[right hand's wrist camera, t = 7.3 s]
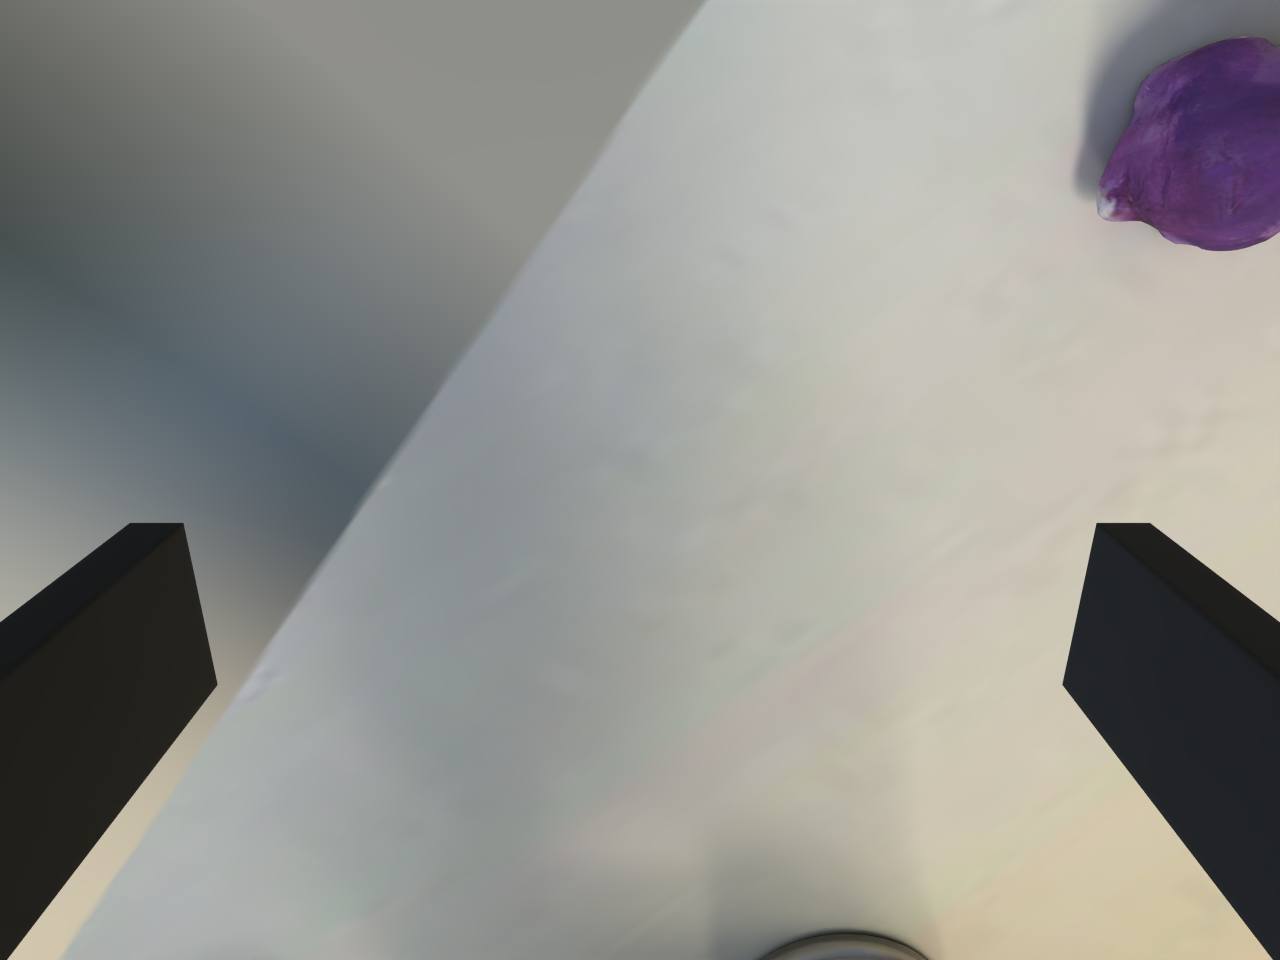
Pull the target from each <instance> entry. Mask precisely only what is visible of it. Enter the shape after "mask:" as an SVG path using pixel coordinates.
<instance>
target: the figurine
mask: <svg viewBox="0 0 1280 960" xmlns="http://www.w3.org/2000/svg"><path fill="white" fill-rule="evenodd" d="M1097 210H1098V214H1099V216H1100V217H1101V218H1102V219H1104V220H1107V221H1119V222H1122V221H1142V222H1144V223H1147V224H1149V225H1151V226H1153V227H1155V228H1156V229H1158V230H1159V232H1160V233H1161V235H1162V236H1163V237H1164V238H1166V239H1168V240H1170V241H1171V242H1173V243H1175V244H1188V245H1193V246H1197V247H1199V248H1201V249H1205V250H1211V251H1232V250H1239V249H1243V248H1247V247H1250V246H1253V245H1255V244H1258V243H1261V242H1264V241H1266V240H1268V239H1270V238H1271V237H1273V236H1274V235H1276V234H1277V233H1279V232H1280V46H1276V47H1274V46H1273V45H1272V44H1271V43H1269V42H1268V41H1267V40H1266V39H1263V38H1253V37H1249V36H1240V37H1236V38H1232V39H1227V40H1223V41H1220V42H1217V43H1214V44H1210V45H1207V46H1205V47H1203V48H1200V49H1197V50H1194V51H1191V52H1188V53H1185V54H1184V55H1181V56H1178V57H1176V58H1173V59H1171V60H1169V61H1168V62H1166V63H1164V64H1162V65H1160V66H1158V67H1157V68H1155V69H1154V70H1153V71H1152V72H1151V73H1150V74H1149V75H1148V76H1147V77H1146V79H1145V80H1144V81H1143V82H1142V84H1141V86H1140V88H1139V91H1138V93H1137V96H1136V99H1135V102H1134V113H1133V116H1132V118H1131V121H1130V123H1129V126H1128V128H1127V129H1126V130H1125V132H1124V133H1123V135H1122V136H1121V138H1120V139H1119V141H1118V142H1117V144H1116V147H1115V149H1114V151H1113V153H1112V156H1111V158H1110V160H1109V162H1108V164H1107V166H1106V168H1105V171H1104V173H1103V175H1102V177H1101V179H1100V182H1099V185H1098V191H1097Z"/></svg>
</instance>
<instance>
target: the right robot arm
mask: <svg viewBox="0 0 1280 960" xmlns="http://www.w3.org/2000/svg"><path fill="white" fill-rule="evenodd" d="M216 686H217V680H216V675H215V670H214V666H213V661H212V656H211V651H210V647H209V642H208V637H207V633H206V628H205V623H204V618H203V614H202V609H201V604H200V599H199V595H198V590H197V585H196V581H195V576H194V571H193V566H192V562H191V557H190V552H189V547H188V543H187V538H186V533H185V529H184V524H183V523H129V524H128V525H127V526H126V527H124V528H123V529H122V530H120V531H119V532H118V533H116V534H115V535H114V536H112V537H111V538H110V539H109V540H107V541H106V542H105V543H103V544H102V545H101V546H99V547H98V548H97V549H95V550H94V551H93V552H92V553H90V554H89V555H88V556H86V557H85V558H84V559H82V560H81V561H80V562H78V563H77V564H76V565H75V566H73V567H72V568H71V569H69V570H68V571H67V572H65V573H64V574H63V575H62V576H60V577H59V578H58V579H56V580H55V581H54V582H52V583H51V584H50V585H48V586H47V587H46V588H44V589H43V590H42V591H41V592H39V593H38V594H37V595H35V596H34V597H33V598H31V599H30V600H29V601H27V602H26V603H25V604H24V605H22V606H21V607H20V608H18V609H17V610H16V611H14V612H13V613H12V614H10V615H9V616H8V617H7V618H5V619H4V620H3V621H1V622H0V960H7V959H8V958H9V956H10V955H11V954H12V953H13V951H14V950H15V949H16V947H17V946H18V945H19V943H20V942H21V941H22V939H23V938H24V937H25V936H26V934H27V933H28V932H29V930H30V929H31V928H32V926H33V925H34V924H35V923H36V921H37V920H38V919H39V917H40V916H41V915H42V913H43V912H44V911H45V909H46V908H47V907H48V906H49V904H50V903H51V902H52V900H53V899H54V898H55V896H56V895H57V894H58V892H59V891H60V890H61V889H62V887H63V886H64V885H65V883H66V882H67V881H68V879H69V878H70V877H71V876H72V874H73V873H74V871H75V870H76V869H77V868H78V866H79V865H80V864H81V862H82V861H83V860H84V859H85V857H86V856H87V855H88V853H89V852H90V851H91V849H92V848H93V847H94V845H95V844H96V843H97V842H98V840H99V839H100V838H101V836H102V835H103V834H104V832H105V831H106V830H107V828H108V827H109V826H110V825H111V823H112V822H113V821H114V819H115V818H116V817H117V815H118V814H119V813H120V812H121V810H122V809H123V808H124V806H125V805H126V804H127V802H128V801H129V800H130V798H131V797H132V796H133V795H134V793H135V792H136V791H137V789H138V788H139V787H140V785H141V784H142V783H143V781H144V780H145V779H146V778H147V776H148V775H149V774H150V772H151V771H152V770H153V768H154V767H155V766H156V764H157V763H158V762H159V761H160V759H161V758H162V757H163V755H164V754H165V753H166V751H167V750H168V749H169V748H170V746H171V745H172V744H173V742H174V741H175V740H176V738H177V737H178V736H179V734H180V733H181V732H182V731H183V729H184V728H185V727H186V725H187V724H188V723H189V721H190V720H191V719H192V718H193V716H194V715H195V714H196V712H197V711H198V710H199V708H200V707H201V706H202V704H203V703H204V702H205V700H206V699H207V698H208V697H209V695H210V694H211V693H212V691H213V690H214V689H215V687H216ZM1063 686H1064V687H1065V689H1066V690H1067V691H1068V693H1069V694H1070V695H1071V697H1072V698H1073V699H1074V701H1075V702H1076V703H1077V704H1078V706H1079V707H1080V708H1081V710H1082V711H1083V712H1084V714H1085V715H1086V716H1087V718H1088V719H1089V720H1090V721H1091V723H1092V724H1093V725H1094V727H1095V728H1096V729H1097V731H1098V732H1099V733H1100V734H1101V736H1102V737H1103V738H1104V740H1105V741H1106V742H1107V744H1108V745H1109V746H1110V748H1111V749H1112V750H1113V751H1114V753H1115V754H1116V755H1117V757H1118V758H1119V759H1120V761H1121V762H1122V763H1123V765H1124V766H1125V767H1126V768H1127V770H1128V771H1129V772H1130V774H1131V775H1132V776H1133V778H1134V779H1135V780H1136V781H1137V783H1138V784H1139V785H1140V787H1141V788H1142V789H1143V791H1144V792H1145V793H1146V795H1147V796H1148V797H1149V798H1150V800H1151V801H1152V802H1153V804H1154V805H1155V806H1156V808H1157V809H1158V810H1159V812H1160V813H1161V814H1162V815H1163V817H1164V818H1165V819H1166V821H1167V822H1168V823H1169V825H1170V826H1171V827H1172V829H1173V830H1174V831H1175V832H1176V834H1177V835H1178V836H1179V838H1180V839H1181V840H1182V842H1183V843H1184V844H1185V845H1186V847H1187V848H1188V849H1189V851H1190V852H1191V853H1192V855H1193V856H1194V857H1195V859H1196V860H1197V861H1198V862H1199V864H1200V865H1201V866H1202V868H1203V869H1204V870H1205V872H1206V873H1207V874H1208V876H1209V877H1210V878H1211V879H1212V881H1213V882H1214V883H1215V885H1216V886H1217V887H1218V889H1219V890H1220V891H1221V892H1222V894H1223V895H1224V896H1225V898H1226V899H1227V900H1228V902H1229V903H1230V904H1231V906H1232V907H1233V908H1234V909H1235V911H1236V912H1237V913H1238V915H1239V916H1240V917H1241V919H1242V920H1243V921H1244V923H1245V924H1246V925H1247V926H1248V928H1249V929H1250V930H1251V932H1252V933H1253V934H1254V936H1255V937H1256V938H1257V939H1258V941H1259V942H1260V943H1261V945H1262V946H1263V947H1264V949H1265V950H1266V951H1267V953H1268V954H1269V955H1270V956H1271V958H1272V959H1273V960H1280V622H1279V621H1277V620H1276V619H1275V618H1273V617H1272V616H1271V615H1270V614H1268V613H1267V612H1266V611H1264V610H1263V609H1262V608H1260V607H1259V606H1258V605H1256V604H1255V603H1254V602H1253V601H1251V600H1250V599H1249V598H1247V597H1246V596H1245V595H1243V594H1242V593H1241V592H1239V591H1238V590H1237V589H1236V588H1234V587H1233V586H1232V585H1230V584H1229V583H1228V582H1226V581H1225V580H1224V579H1222V578H1221V577H1220V576H1219V575H1217V574H1216V573H1215V572H1213V571H1212V570H1211V569H1209V568H1208V567H1207V566H1205V565H1204V564H1203V563H1202V562H1200V561H1199V560H1198V559H1196V558H1195V557H1194V556H1192V555H1191V554H1190V553H1188V552H1187V551H1186V550H1185V549H1183V548H1182V547H1181V546H1179V545H1178V544H1177V543H1175V542H1174V541H1173V540H1171V539H1170V538H1169V537H1168V536H1166V535H1165V534H1164V533H1162V532H1161V531H1160V530H1158V529H1157V528H1156V527H1154V526H1153V525H1152V524H1151V523H1097V524H1096V529H1095V533H1094V538H1093V543H1092V547H1091V552H1090V557H1089V562H1088V566H1087V571H1086V576H1085V581H1084V585H1083V590H1082V595H1081V599H1080V604H1079V609H1078V614H1077V618H1076V623H1075V628H1074V633H1073V637H1072V642H1071V647H1070V651H1069V656H1068V661H1067V666H1066V670H1065V675H1064V680H1063ZM760 960H926V959H925V958H923V957H922V956H921V955H919V954H918V953H916V952H915V951H913V950H911V949H910V948H907V947H905V946H903V945H901V944H899V943H896V942H893V941H890V940H887V939H883V938H879V937H874V936H869V935H860V934H832V935H823V936H817V937H812V938H808V939H804V940H800V941H797V942H794V943H791V944H789V945H786V946H784V947H781V948H779V949H777V950H775V951H773V952H771V953H770V954H768V955H766V956H765V957H763V958H762V959H760Z"/></svg>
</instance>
